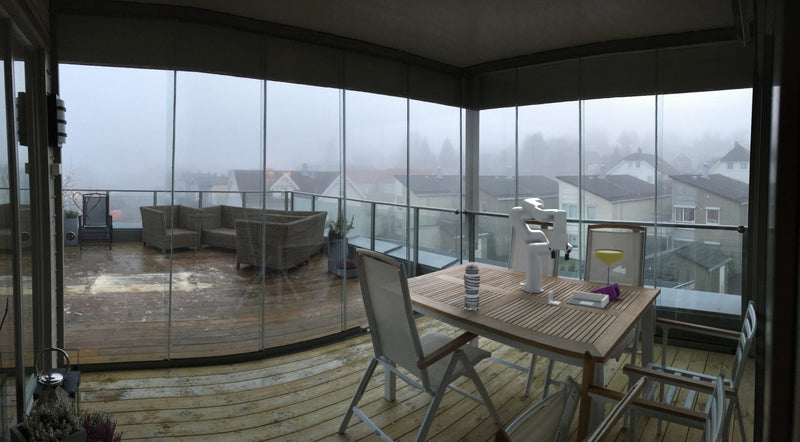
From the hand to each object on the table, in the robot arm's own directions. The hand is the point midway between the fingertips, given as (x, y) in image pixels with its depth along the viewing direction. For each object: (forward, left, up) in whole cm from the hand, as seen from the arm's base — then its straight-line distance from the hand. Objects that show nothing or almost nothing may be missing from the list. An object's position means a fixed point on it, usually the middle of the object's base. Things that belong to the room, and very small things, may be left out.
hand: (559, 259), depth 276 cm
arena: (+16, +3, -25) cm, 30 cm away
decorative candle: (-36, -44, -25) cm, 63 cm away
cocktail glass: (+18, +50, -25) cm, 59 cm away
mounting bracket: (+20, +22, -26) cm, 39 cm away
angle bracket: (0, -8, -25) cm, 27 cm away
